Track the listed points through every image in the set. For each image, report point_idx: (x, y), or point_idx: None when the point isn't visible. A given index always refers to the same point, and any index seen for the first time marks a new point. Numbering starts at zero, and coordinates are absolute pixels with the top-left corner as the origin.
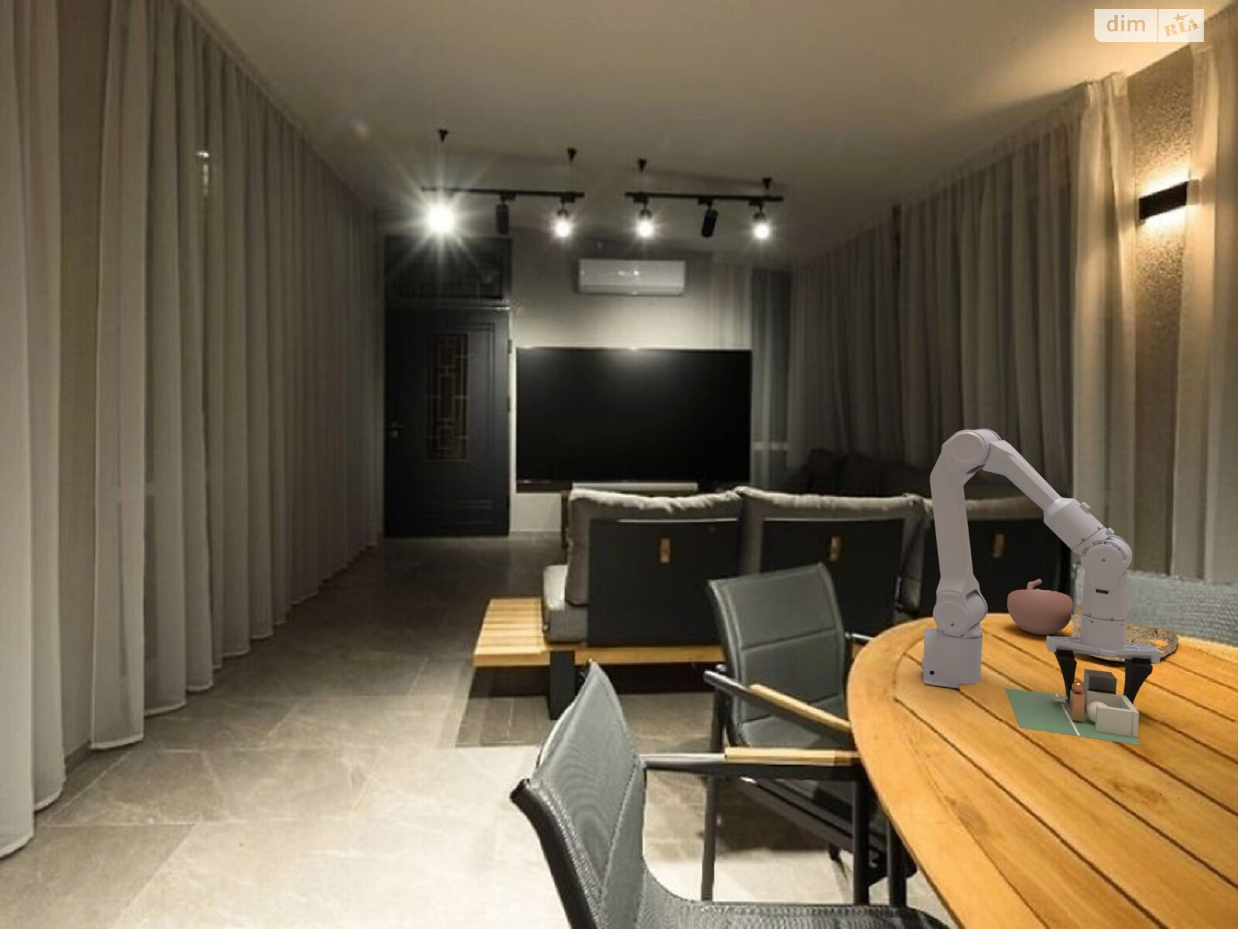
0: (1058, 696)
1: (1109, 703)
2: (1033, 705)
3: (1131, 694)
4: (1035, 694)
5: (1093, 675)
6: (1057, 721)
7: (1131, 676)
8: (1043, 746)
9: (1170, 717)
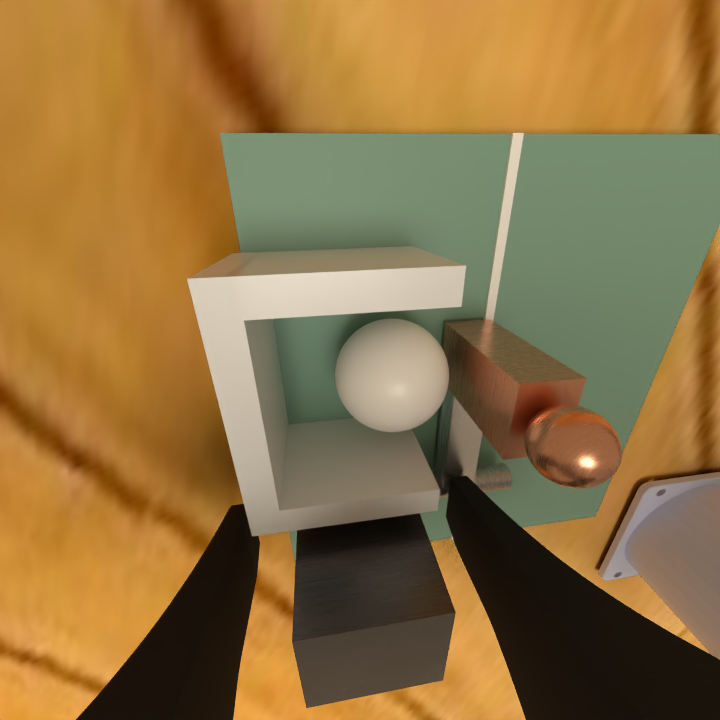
0: None
1: (331, 467)
2: None
3: (220, 561)
4: (521, 510)
5: (425, 630)
6: (545, 294)
7: (190, 707)
8: (683, 8)
9: (115, 556)
